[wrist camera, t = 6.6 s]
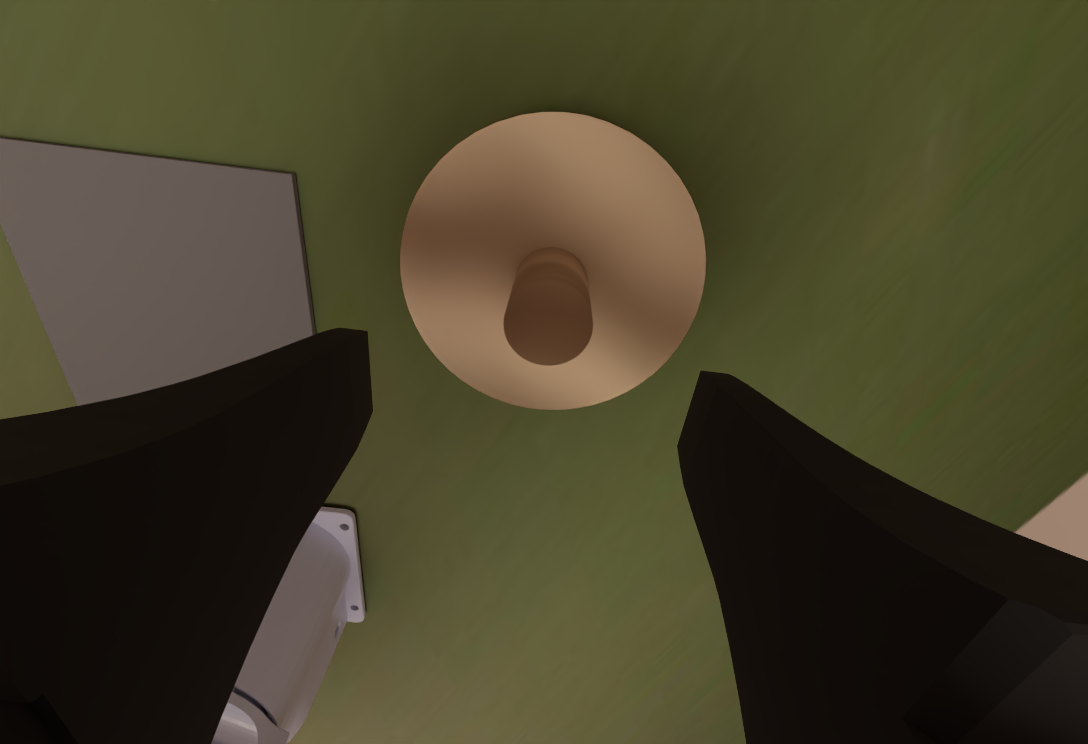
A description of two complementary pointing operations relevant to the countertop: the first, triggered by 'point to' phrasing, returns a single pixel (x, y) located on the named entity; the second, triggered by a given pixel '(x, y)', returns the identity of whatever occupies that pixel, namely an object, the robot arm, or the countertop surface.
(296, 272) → the mat
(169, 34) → the countertop surface
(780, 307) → the countertop surface
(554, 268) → the lid
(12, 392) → the countertop surface
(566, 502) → the countertop surface
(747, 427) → the robot arm
